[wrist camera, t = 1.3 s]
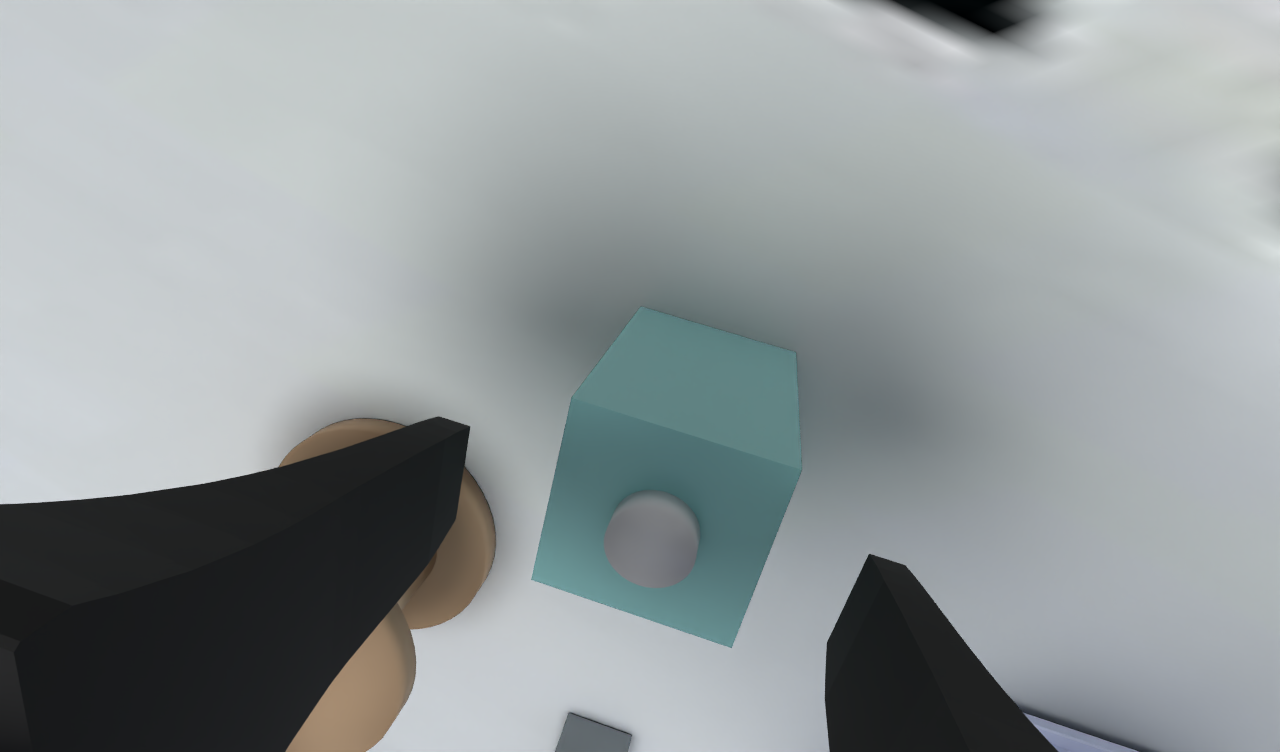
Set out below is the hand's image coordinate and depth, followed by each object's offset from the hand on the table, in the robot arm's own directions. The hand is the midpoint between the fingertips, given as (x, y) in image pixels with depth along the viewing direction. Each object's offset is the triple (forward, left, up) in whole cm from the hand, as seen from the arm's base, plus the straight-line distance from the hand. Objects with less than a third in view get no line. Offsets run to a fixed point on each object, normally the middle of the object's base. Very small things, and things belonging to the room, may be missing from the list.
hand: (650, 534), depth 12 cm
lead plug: (0, 0, -6) cm, 6 cm away
